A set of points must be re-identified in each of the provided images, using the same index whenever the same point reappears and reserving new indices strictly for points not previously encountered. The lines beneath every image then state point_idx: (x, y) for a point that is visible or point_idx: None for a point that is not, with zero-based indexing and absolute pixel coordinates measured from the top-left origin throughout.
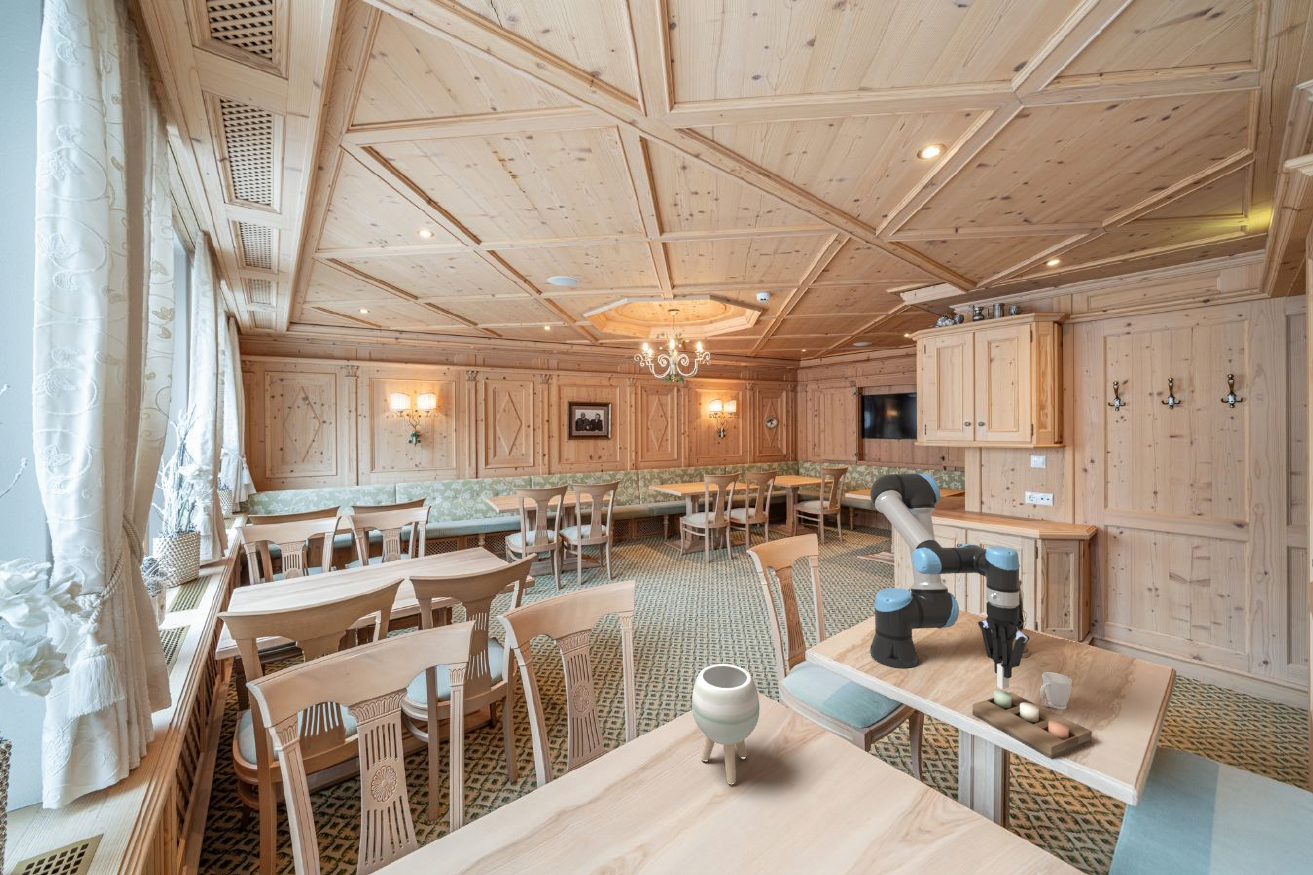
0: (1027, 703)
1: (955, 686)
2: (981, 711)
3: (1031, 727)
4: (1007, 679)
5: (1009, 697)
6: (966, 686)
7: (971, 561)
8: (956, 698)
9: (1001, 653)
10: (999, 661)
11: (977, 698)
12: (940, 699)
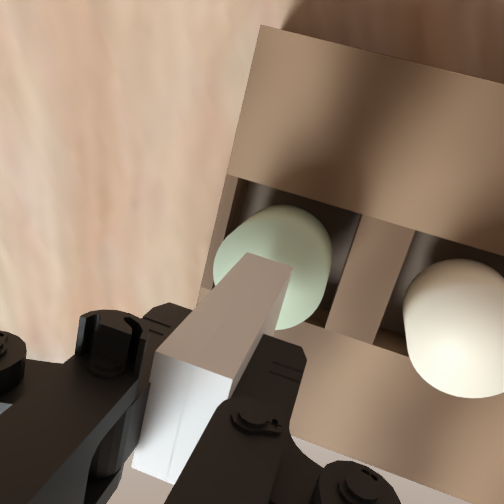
0: (448, 298)
1: (7, 119)
2: None
3: (497, 429)
4: (272, 317)
5: (321, 297)
6: (36, 62)
7: None
8: (79, 255)
9: (61, 502)
10: (127, 443)
11: (138, 164)
12: (45, 325)
